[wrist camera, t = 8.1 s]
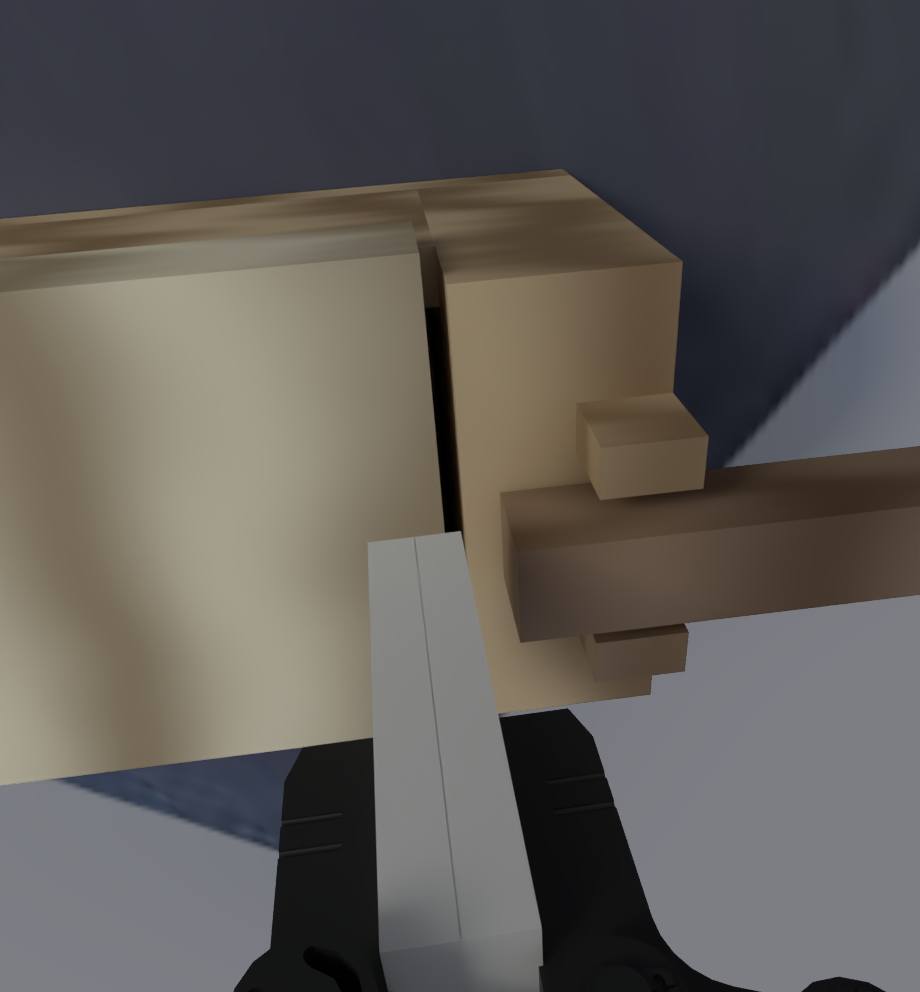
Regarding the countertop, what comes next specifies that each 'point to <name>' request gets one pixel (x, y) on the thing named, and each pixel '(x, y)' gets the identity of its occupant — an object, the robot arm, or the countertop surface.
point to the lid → (203, 492)
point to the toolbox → (500, 372)
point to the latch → (714, 545)
